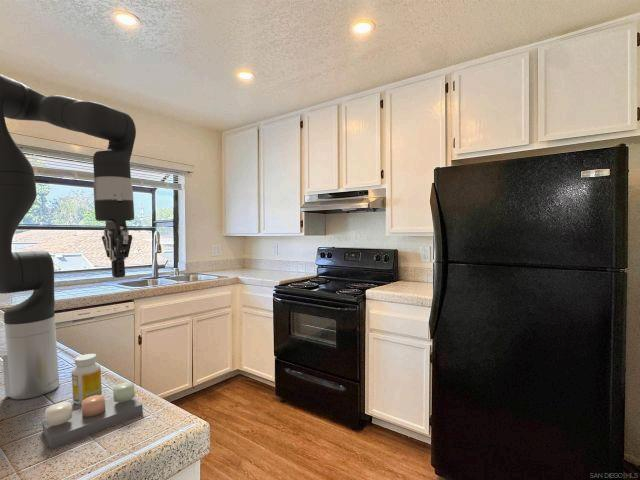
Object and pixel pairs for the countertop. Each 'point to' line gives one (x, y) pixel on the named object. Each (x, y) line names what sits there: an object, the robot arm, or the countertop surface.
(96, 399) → the terracotta button
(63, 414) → the cream button
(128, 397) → the sage button
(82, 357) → the supplement bottle
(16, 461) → the countertop surface
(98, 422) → the button panel
